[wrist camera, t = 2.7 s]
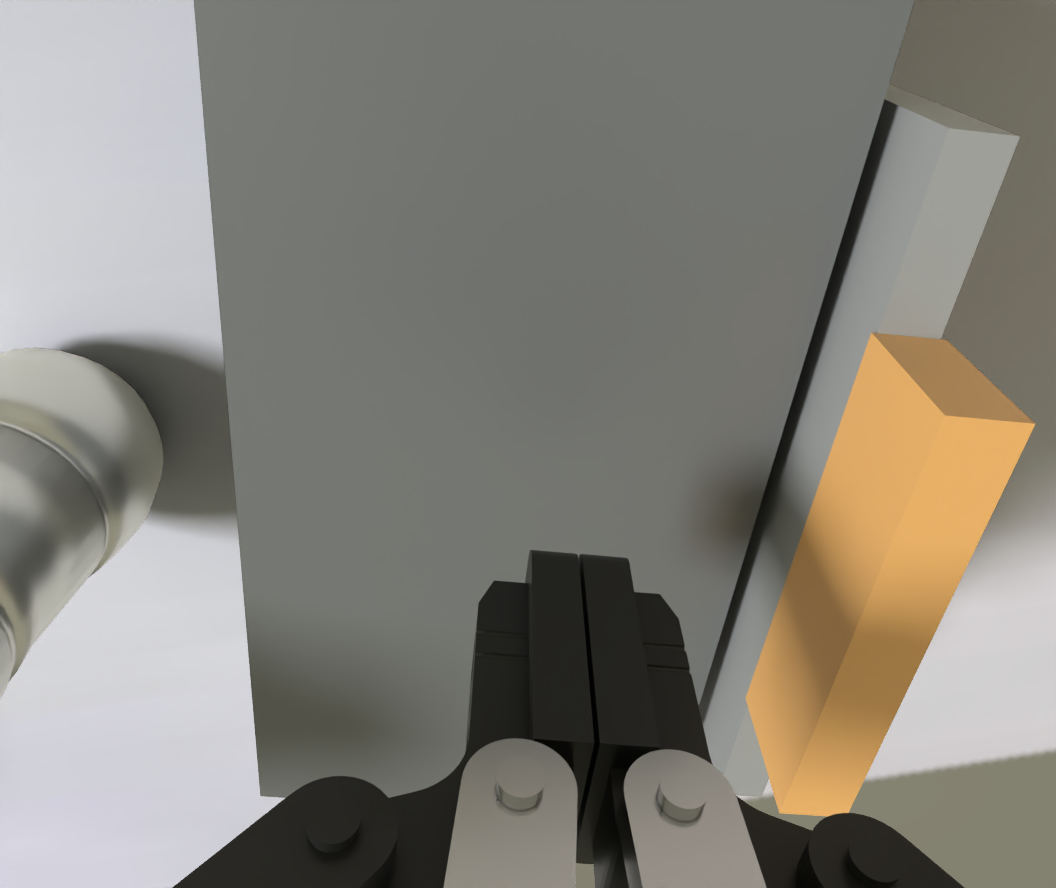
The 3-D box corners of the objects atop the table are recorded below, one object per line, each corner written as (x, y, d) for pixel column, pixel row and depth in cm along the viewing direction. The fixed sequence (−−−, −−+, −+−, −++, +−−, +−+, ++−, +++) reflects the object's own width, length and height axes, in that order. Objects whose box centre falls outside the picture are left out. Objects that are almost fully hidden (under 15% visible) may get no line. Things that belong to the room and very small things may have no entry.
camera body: (328, -285, 18) (152, -487, 9) (789, -219, 18) (1022, -351, 10) (336, 543, 29) (260, 795, 21) (622, 566, 30) (663, 820, 21)
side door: (754, 41, 20) (1044, 175, 9) (802, 47, 21) (1150, 185, 9) (649, 511, 28) (738, 910, 16) (685, 514, 28) (799, 913, 16)
